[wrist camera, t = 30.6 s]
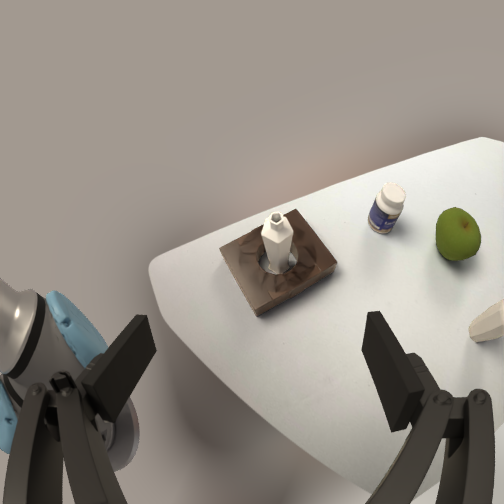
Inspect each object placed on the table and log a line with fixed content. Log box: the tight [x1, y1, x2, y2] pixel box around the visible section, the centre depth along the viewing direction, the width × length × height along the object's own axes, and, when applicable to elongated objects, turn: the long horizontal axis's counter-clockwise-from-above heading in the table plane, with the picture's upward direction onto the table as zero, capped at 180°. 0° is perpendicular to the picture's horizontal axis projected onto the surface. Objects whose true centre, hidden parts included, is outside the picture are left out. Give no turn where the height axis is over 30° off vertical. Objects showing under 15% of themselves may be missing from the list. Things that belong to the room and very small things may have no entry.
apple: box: [436, 207, 481, 261], centre depth 43 cm, size 11×10×10 cm
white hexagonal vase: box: [261, 212, 293, 274], centre depth 44 cm, size 5×4×15 cm
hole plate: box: [219, 209, 337, 316], centre depth 49 cm, size 16×13×4 cm
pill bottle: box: [368, 183, 406, 233], centre depth 48 cm, size 6×6×10 cm
